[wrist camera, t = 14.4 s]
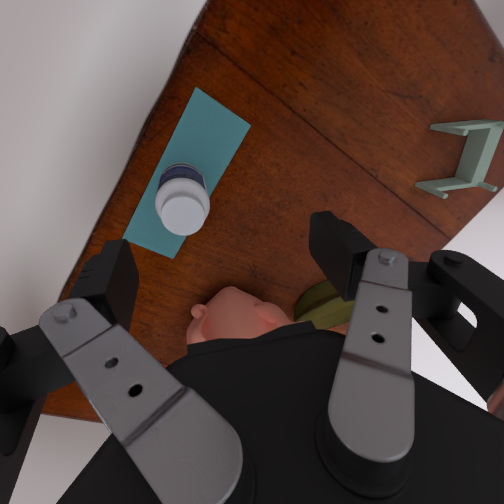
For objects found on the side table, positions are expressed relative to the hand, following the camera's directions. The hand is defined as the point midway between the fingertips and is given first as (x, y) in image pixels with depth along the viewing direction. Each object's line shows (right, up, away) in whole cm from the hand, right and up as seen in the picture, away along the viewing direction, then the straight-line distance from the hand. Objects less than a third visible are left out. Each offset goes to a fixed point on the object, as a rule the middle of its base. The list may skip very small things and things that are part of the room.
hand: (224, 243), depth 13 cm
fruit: (+14, -8, +37) cm, 40 cm away
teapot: (-2, -10, +35) cm, 36 cm away
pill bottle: (-7, +8, +22) cm, 24 cm away
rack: (+29, +14, +28) cm, 42 cm away
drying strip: (-7, +8, +22) cm, 25 cm away
